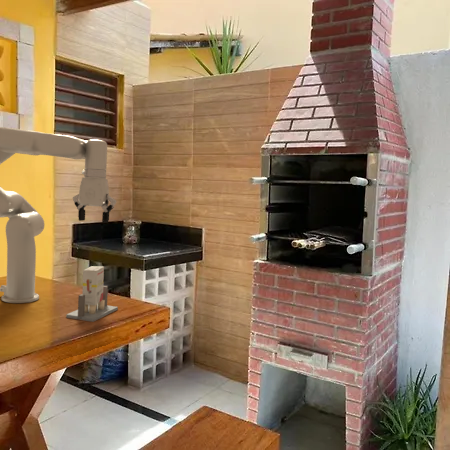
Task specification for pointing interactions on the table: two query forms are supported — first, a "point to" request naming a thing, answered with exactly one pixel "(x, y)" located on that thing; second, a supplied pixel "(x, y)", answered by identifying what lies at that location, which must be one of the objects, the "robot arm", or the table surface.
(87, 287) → the ink box
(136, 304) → the table surface
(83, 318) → the peg stand
